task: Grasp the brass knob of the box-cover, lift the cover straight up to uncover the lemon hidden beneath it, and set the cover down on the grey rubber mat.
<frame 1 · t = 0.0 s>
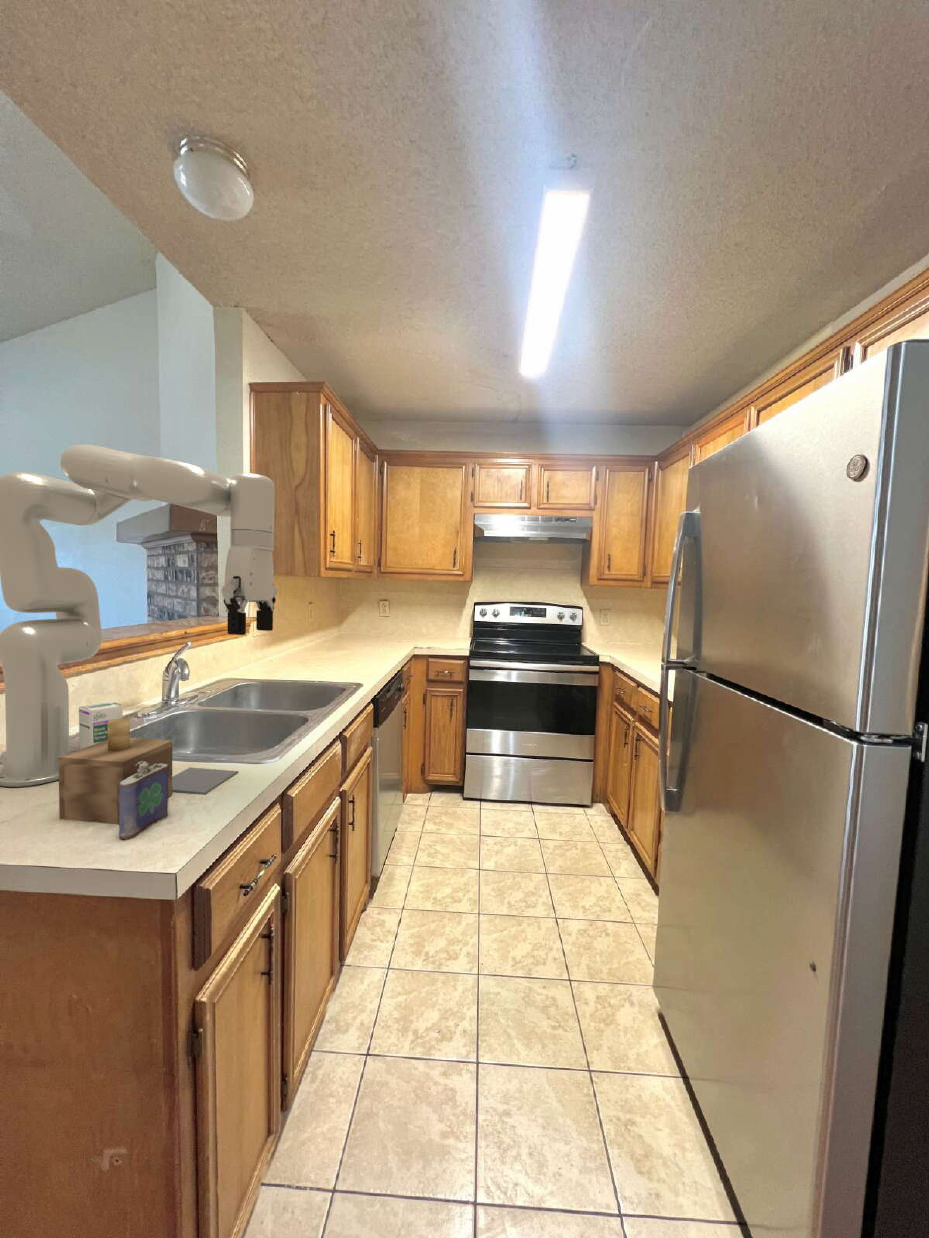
hand: (251, 632, 91), 31 cm above the countertop, tool pointing down, fingers open, 9 cm apart
flask: (144, 826, 78), on the countertop
lemon: (119, 807, 85), on the countertop
cover: (119, 806, 85), on the countertop
syrup box: (101, 774, 99), on the countertop
mat: (196, 781, 97), on the countertop
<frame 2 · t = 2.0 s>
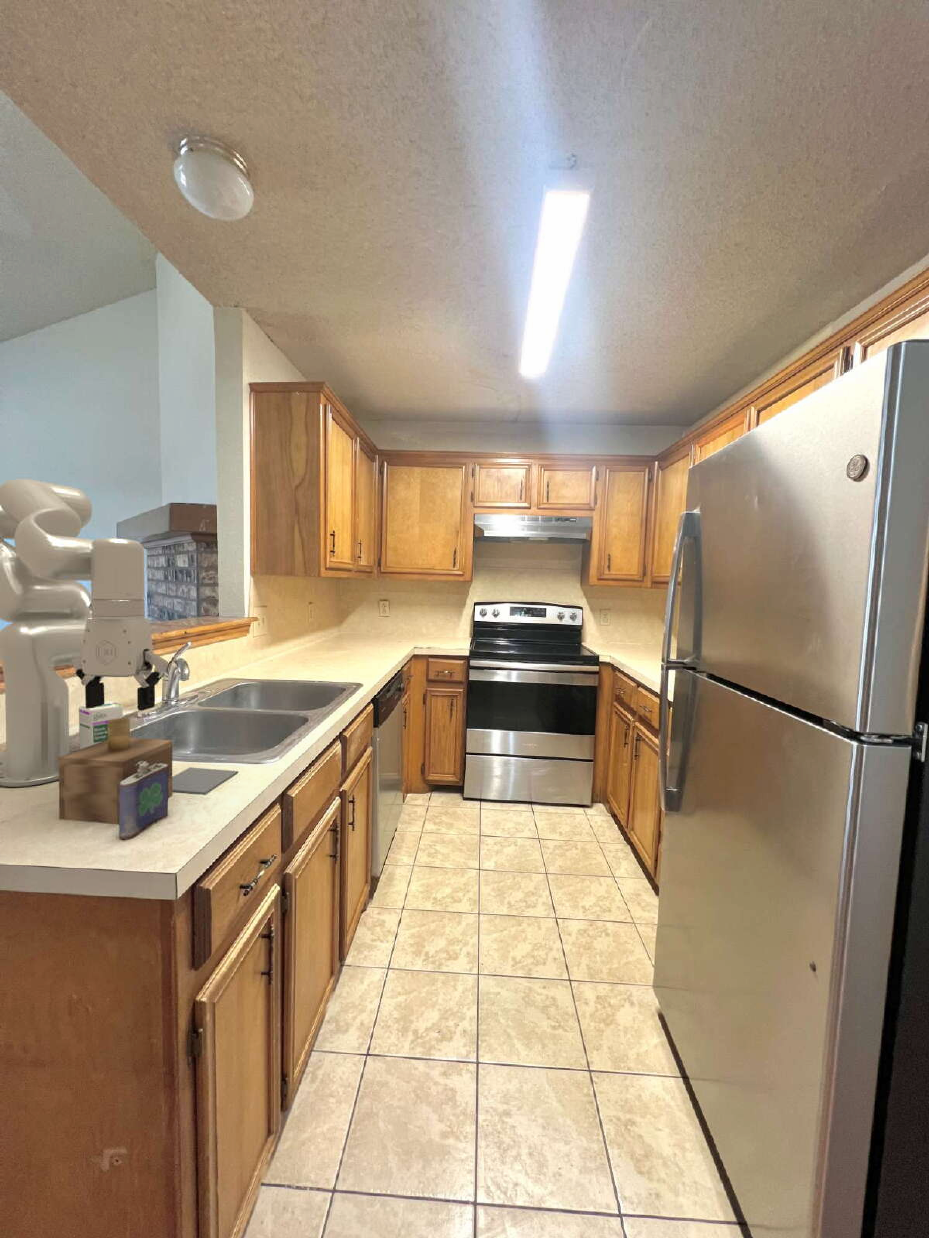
hand: (120, 707, 83), 18 cm above the countertop, tool pointing down, fingers open, 9 cm apart
nothing on the countertop moved.
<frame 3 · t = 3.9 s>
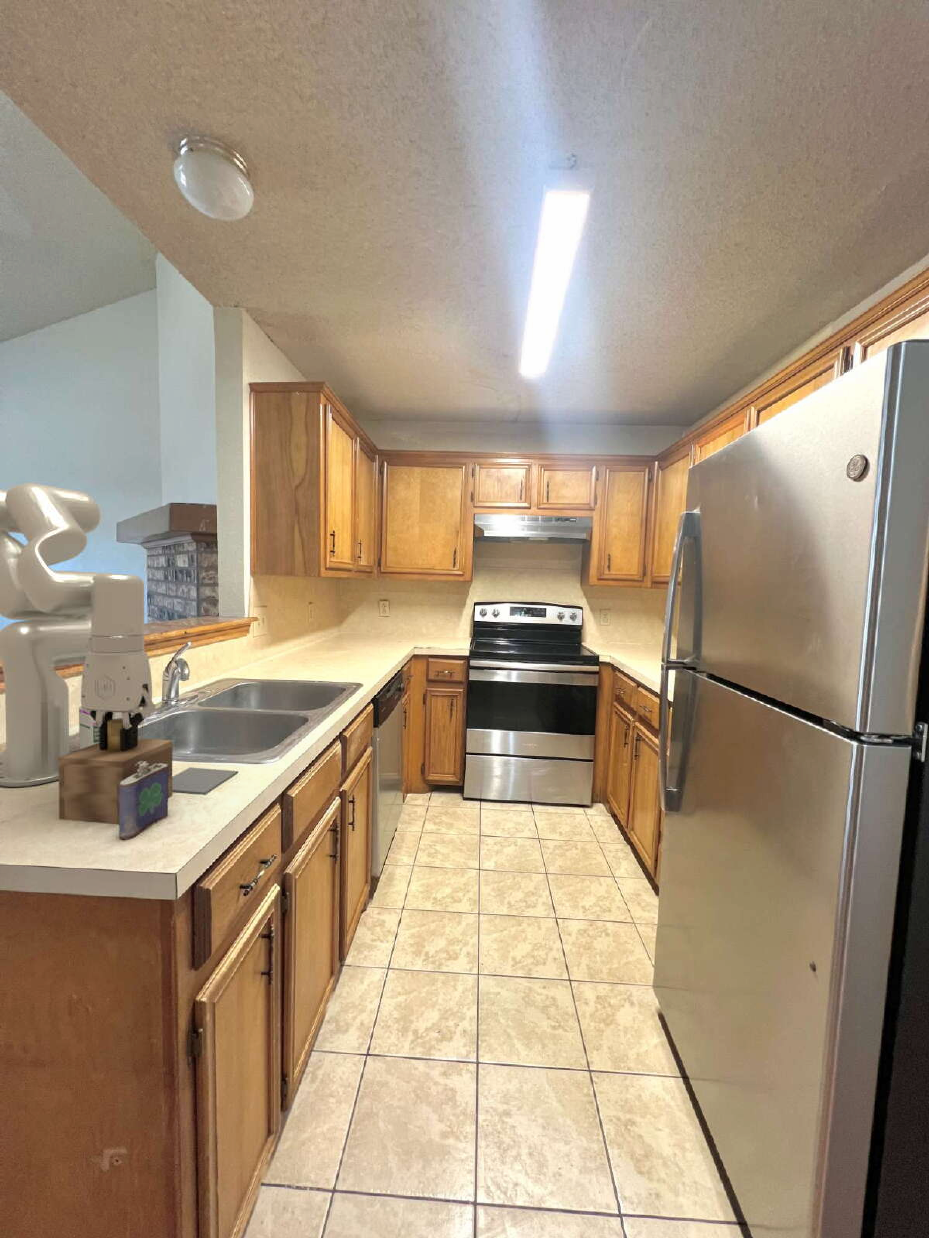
hand: (118, 747, 84), 11 cm above the countertop, tool pointing down, fingers closed on cover, 3 cm apart
cover: (119, 806, 85), on the countertop, touching gripper
everything else where it was.
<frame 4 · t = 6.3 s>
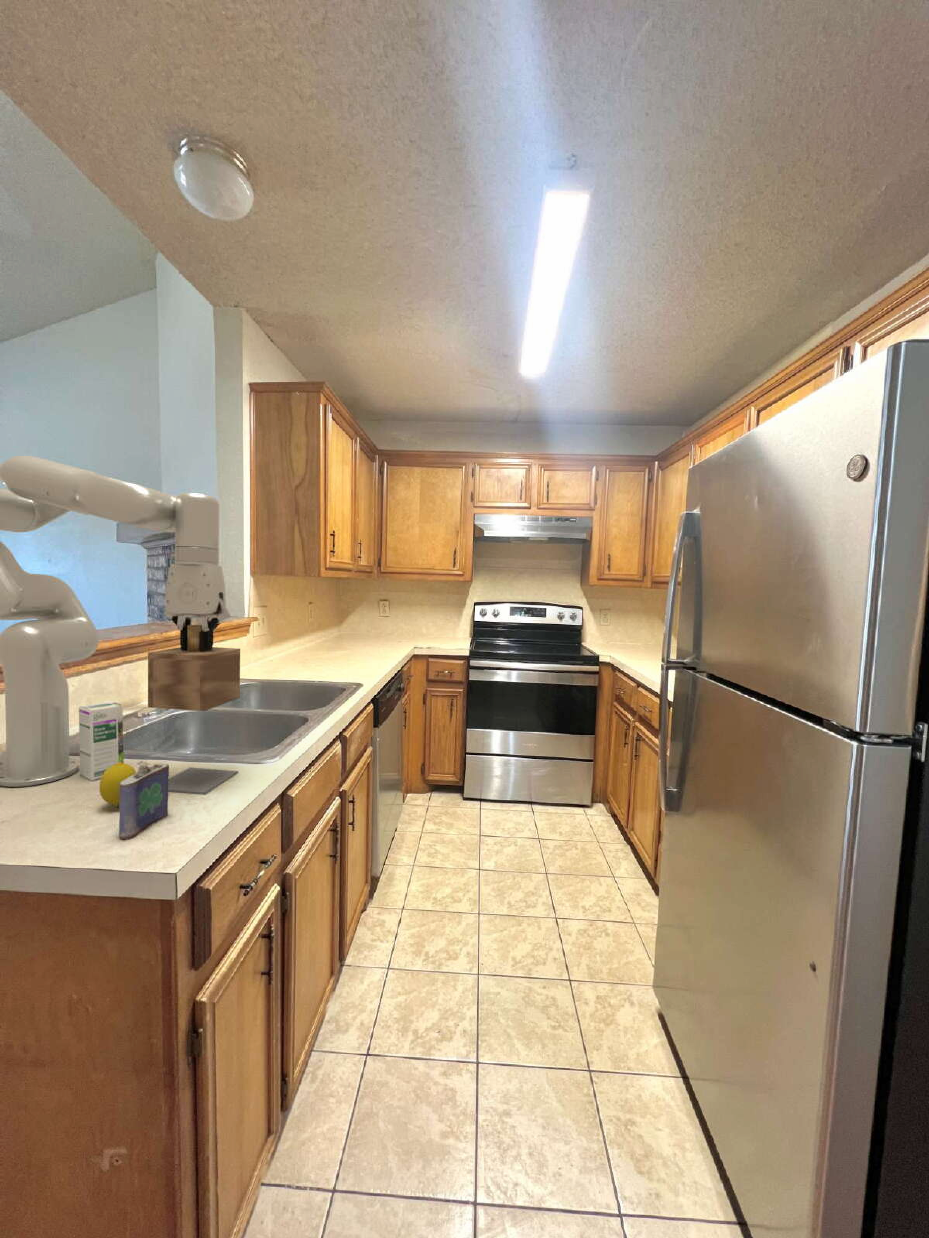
hand: (196, 649, 95), 27 cm above the countertop, tool pointing down, fingers closed on cover, 3 cm apart
cover: (196, 702, 95), point 16 cm above the countertop, touching gripper
everything else where it was.
when the fingers open (13 cm above the countertop, at t = 9.1 s): cover drops 1 cm, resting on mat.
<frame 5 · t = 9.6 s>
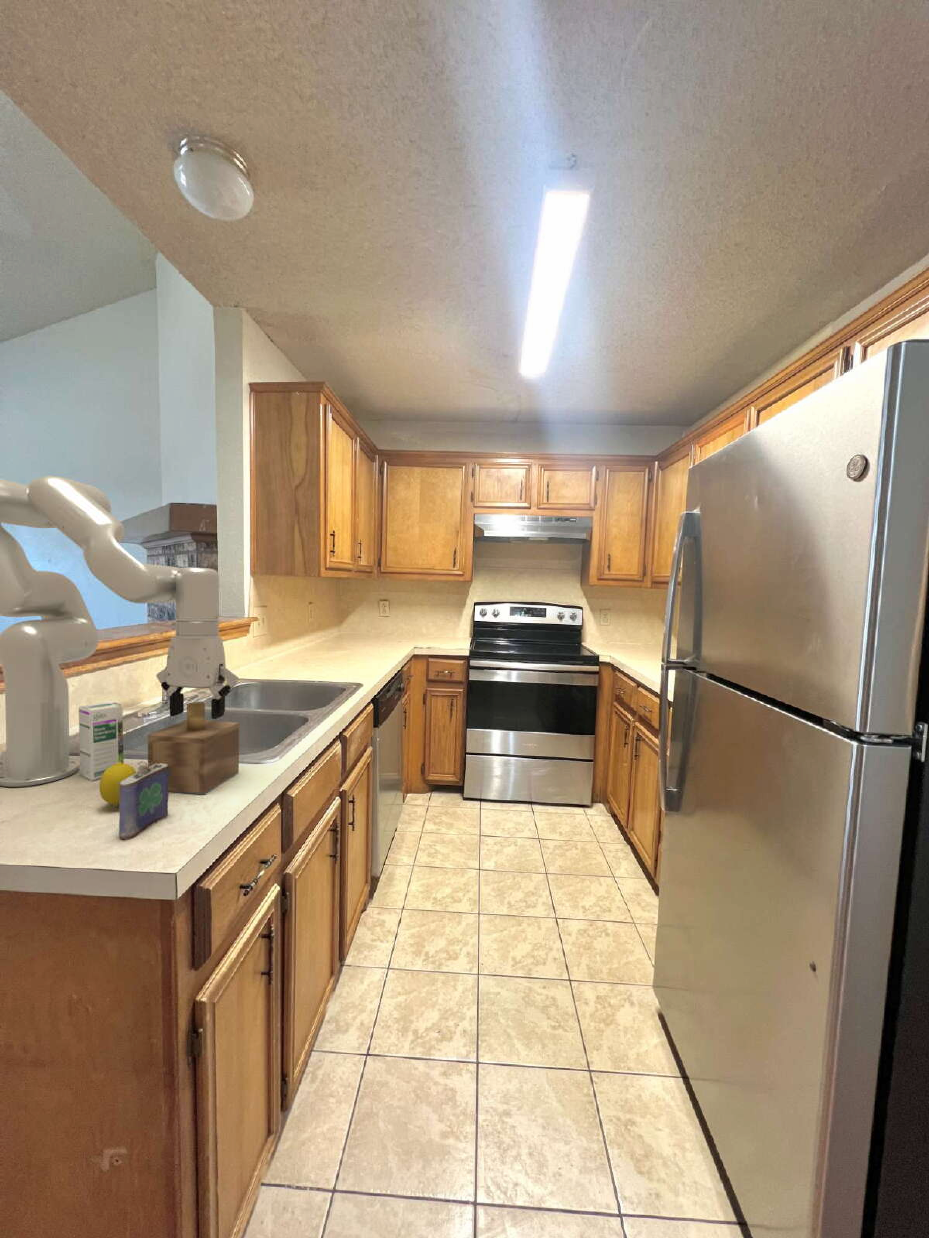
hand: (197, 715, 96), 14 cm above the countertop, tool pointing down, fingers open, 8 cm apart
cover: (195, 779, 96), resting on mat
everything else where it was.
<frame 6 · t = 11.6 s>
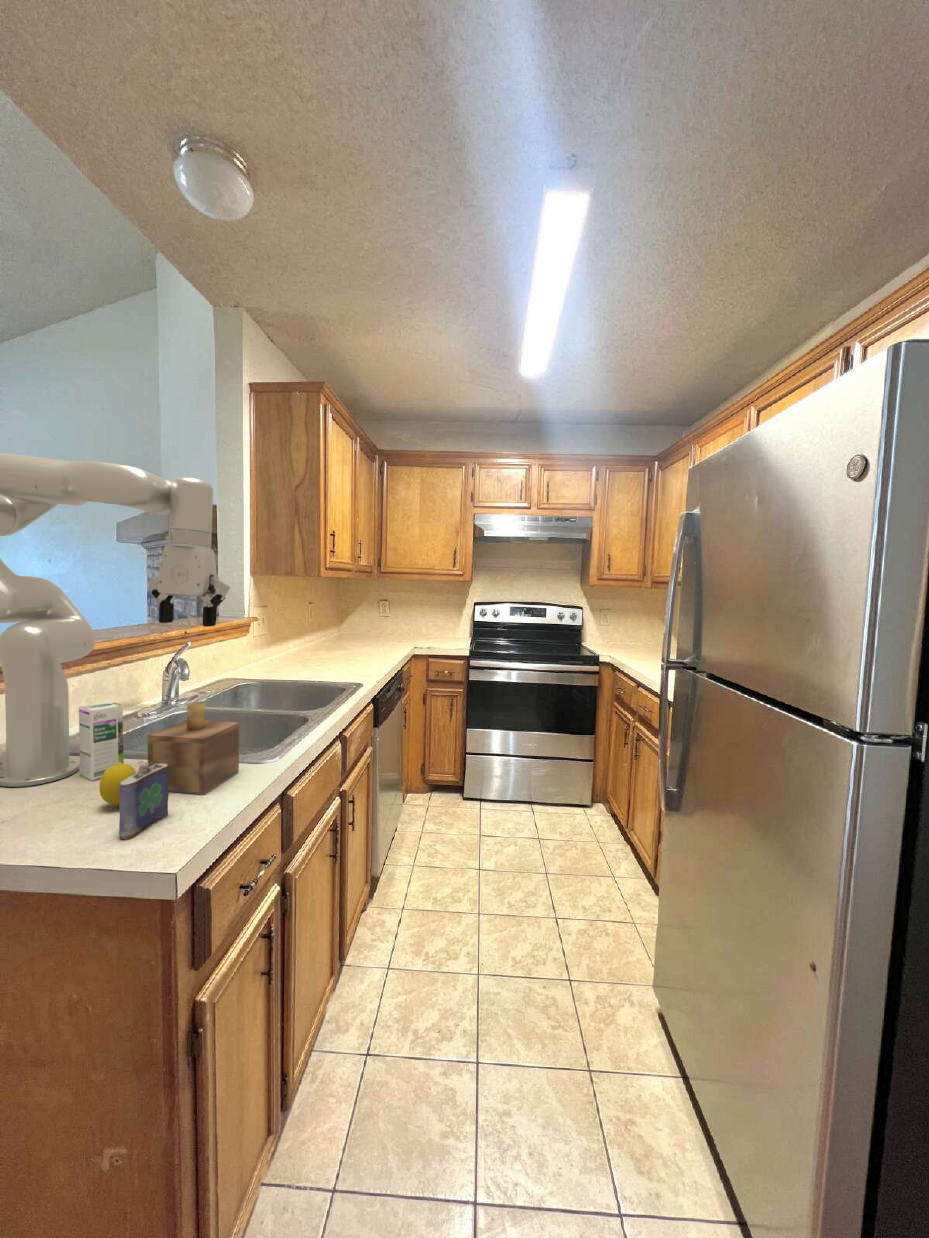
hand: (187, 624, 98), 32 cm above the countertop, tool pointing down, fingers open, 9 cm apart
nothing on the countertop moved.
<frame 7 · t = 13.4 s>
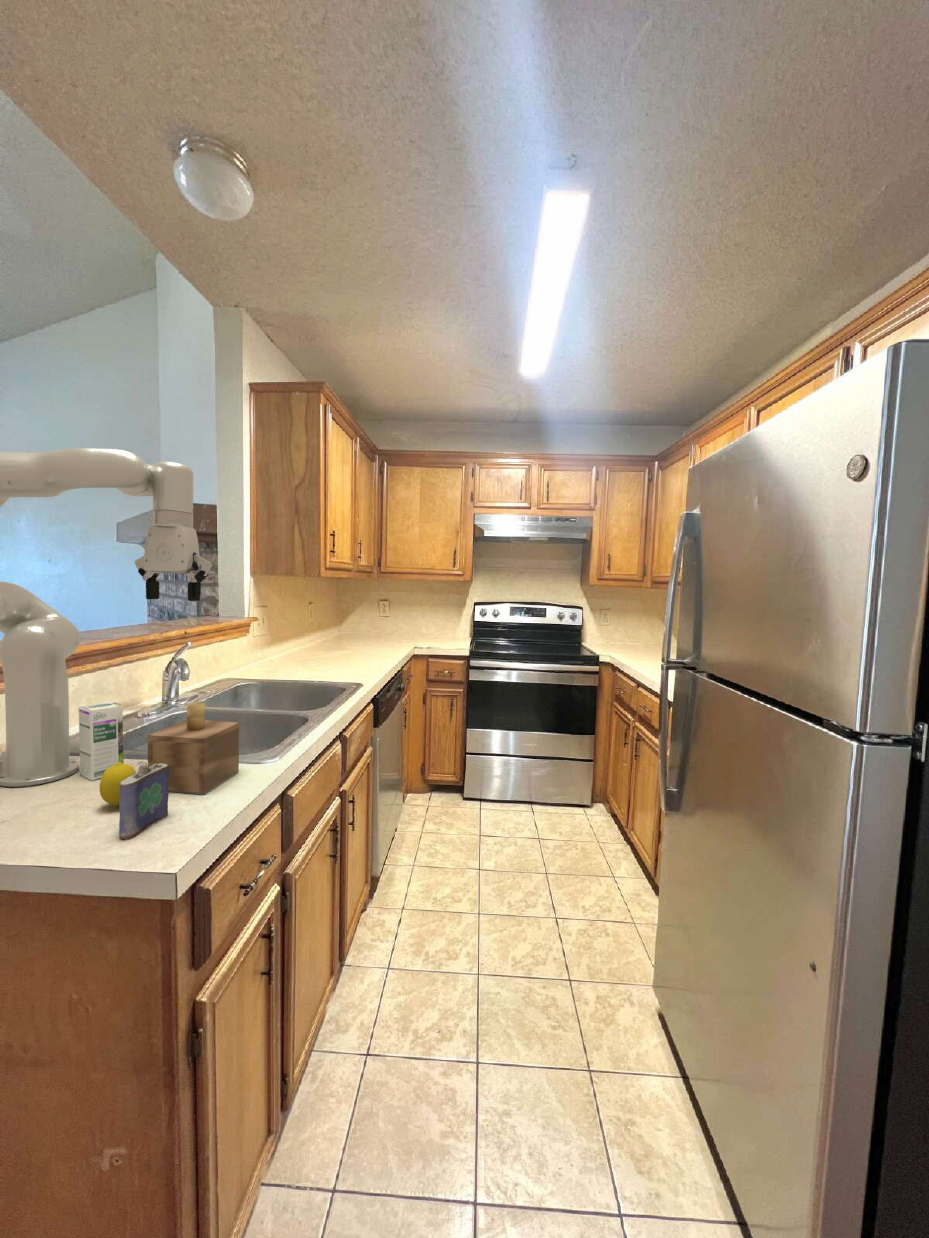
hand: (173, 599, 105), 36 cm above the countertop, tool pointing down, fingers open, 9 cm apart
nothing on the countertop moved.
at the end: cover inside the target area on the mat (0.2 cm from its centre), point 0.4 cm above the mat's base; cover tilted 0°; the gripper is holding nothing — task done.
